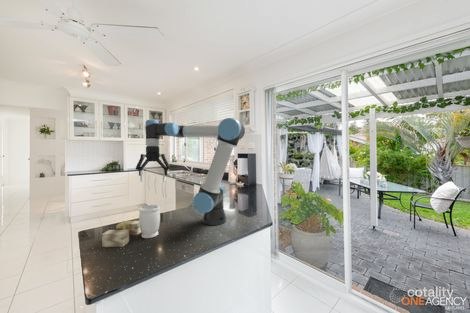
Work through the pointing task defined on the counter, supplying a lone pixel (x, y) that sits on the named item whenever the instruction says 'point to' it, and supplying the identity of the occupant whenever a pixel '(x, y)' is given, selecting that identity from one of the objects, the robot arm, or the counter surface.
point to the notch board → (120, 235)
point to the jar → (149, 220)
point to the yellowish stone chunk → (124, 226)
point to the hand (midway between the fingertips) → (153, 181)
